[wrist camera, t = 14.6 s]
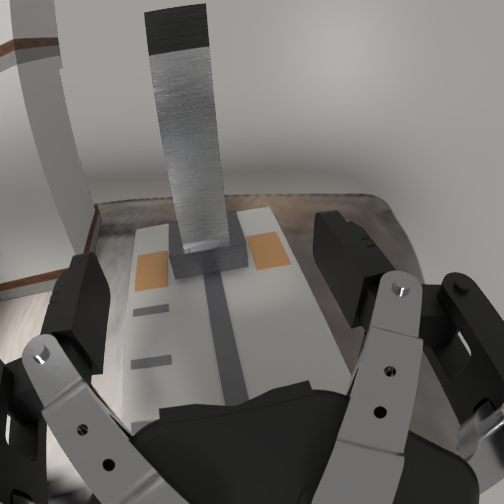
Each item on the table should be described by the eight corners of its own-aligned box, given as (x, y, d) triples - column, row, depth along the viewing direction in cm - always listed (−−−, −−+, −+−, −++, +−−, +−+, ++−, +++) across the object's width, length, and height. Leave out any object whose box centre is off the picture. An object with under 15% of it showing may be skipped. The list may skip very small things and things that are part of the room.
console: (163, 603, 7) (145, 611, 6) (143, 251, 29) (135, 228, 27) (404, 552, 9) (425, 552, 7) (270, 229, 30) (269, 205, 29)
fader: (175, 279, 21) (122, 16, 11) (173, 244, 24) (133, 21, 14) (248, 266, 22) (227, 0, 12) (238, 233, 25) (218, 8, 15)
